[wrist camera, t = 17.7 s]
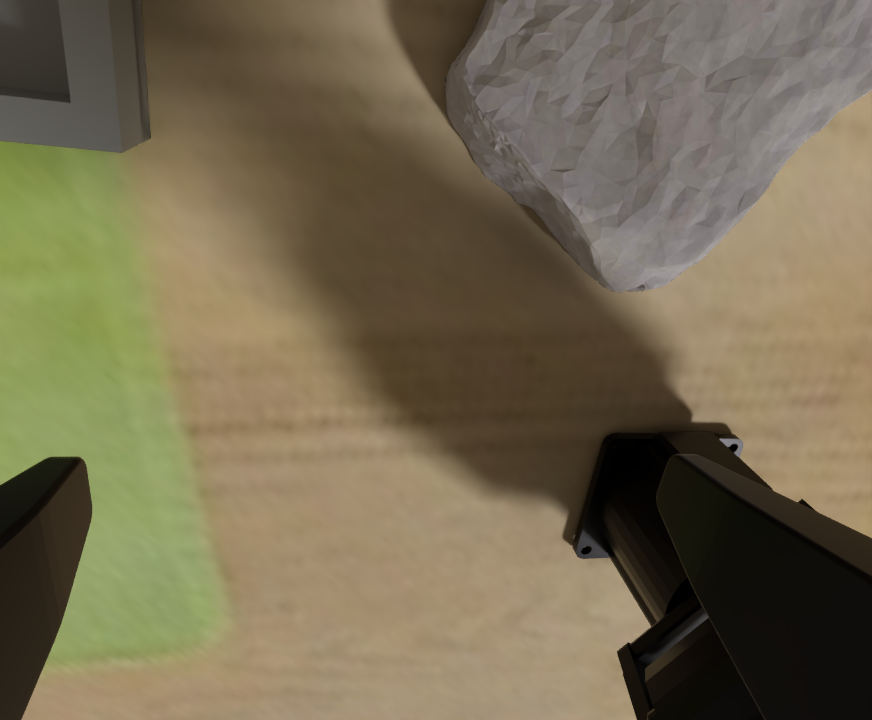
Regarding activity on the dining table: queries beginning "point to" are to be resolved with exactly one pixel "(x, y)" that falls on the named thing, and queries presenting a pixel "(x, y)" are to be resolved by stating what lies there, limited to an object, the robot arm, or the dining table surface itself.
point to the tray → (73, 74)
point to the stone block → (651, 115)
